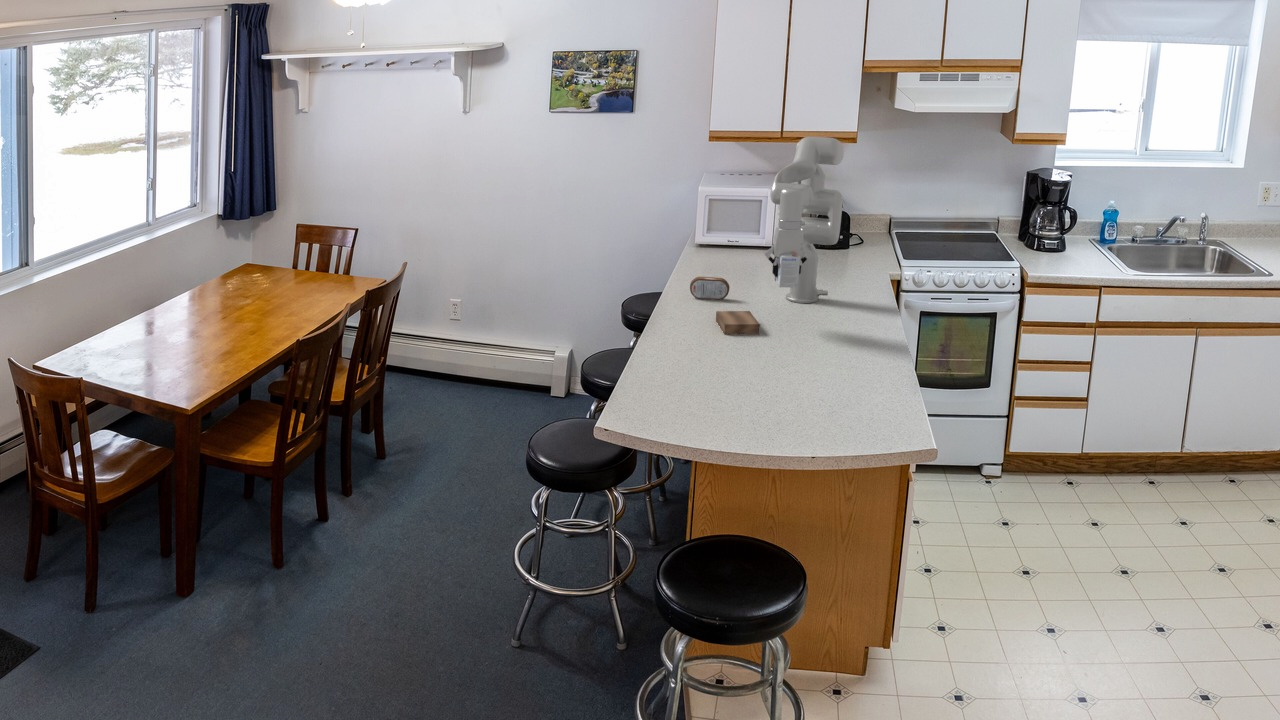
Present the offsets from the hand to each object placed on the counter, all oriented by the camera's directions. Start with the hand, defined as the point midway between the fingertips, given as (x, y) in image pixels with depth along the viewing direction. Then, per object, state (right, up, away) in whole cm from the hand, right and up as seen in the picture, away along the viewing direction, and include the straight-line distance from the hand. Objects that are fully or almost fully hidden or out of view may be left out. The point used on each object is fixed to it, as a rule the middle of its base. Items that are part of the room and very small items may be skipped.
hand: (786, 275), depth 355 cm
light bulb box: (0, -3, +1) cm, 3 cm away
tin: (-24, -6, +39) cm, 46 cm away
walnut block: (-17, -18, +5) cm, 25 cm away
